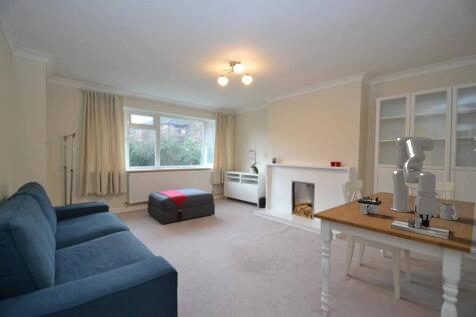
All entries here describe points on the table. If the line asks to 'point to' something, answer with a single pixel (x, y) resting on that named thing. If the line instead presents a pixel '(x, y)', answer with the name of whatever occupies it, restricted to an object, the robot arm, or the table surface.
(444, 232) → the door board
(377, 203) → the black-topped pedestal
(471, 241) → the table surface
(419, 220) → the bar
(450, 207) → the mug
